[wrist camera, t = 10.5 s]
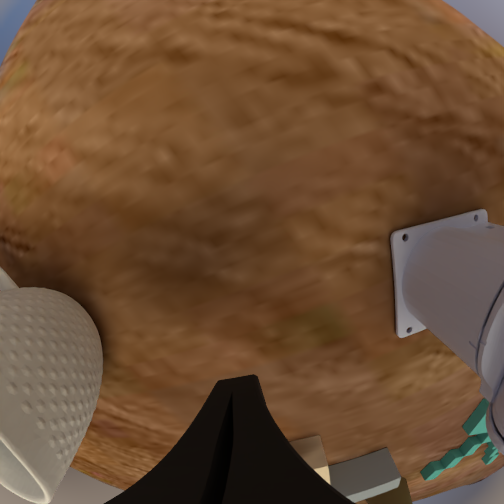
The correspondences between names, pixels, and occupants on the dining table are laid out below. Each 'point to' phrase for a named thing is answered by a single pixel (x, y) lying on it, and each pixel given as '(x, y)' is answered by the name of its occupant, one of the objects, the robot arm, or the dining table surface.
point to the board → (365, 476)
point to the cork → (393, 495)
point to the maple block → (313, 455)
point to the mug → (44, 386)
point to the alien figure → (466, 444)
